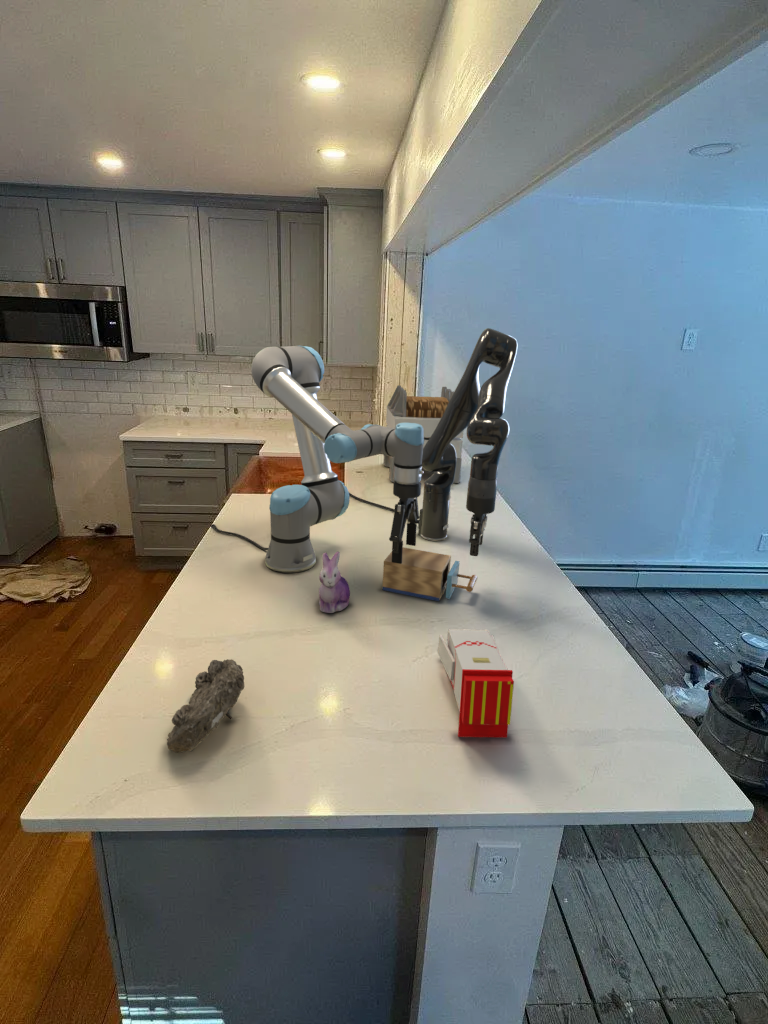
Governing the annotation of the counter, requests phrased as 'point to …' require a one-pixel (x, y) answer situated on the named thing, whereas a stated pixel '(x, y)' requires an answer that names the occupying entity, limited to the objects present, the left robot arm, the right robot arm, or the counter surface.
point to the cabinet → (416, 574)
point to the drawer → (455, 580)
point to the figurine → (332, 586)
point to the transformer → (420, 420)
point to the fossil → (206, 705)
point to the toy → (478, 682)
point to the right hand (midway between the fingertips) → (476, 549)
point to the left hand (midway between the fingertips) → (404, 553)
